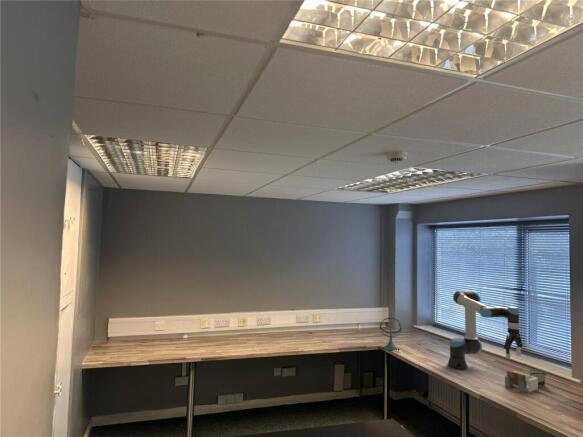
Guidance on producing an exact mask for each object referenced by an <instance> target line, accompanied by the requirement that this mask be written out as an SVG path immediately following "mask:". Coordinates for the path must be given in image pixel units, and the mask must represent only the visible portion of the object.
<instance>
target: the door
mask: <svg viewBox="0 0 583 437" xmlns="http://www.w3.org/2000/svg"><path fill="white" fill-rule="evenodd" d="M516 372H517V371H516ZM516 372H514V371H512V370H510V369H508V370H506V376H508V377H510V383H513V384H516V385H519V380H520V381H523V382H524V387H526V377H525V375H523V374H524V373H523V374H519V373H516Z"/></svg>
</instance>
